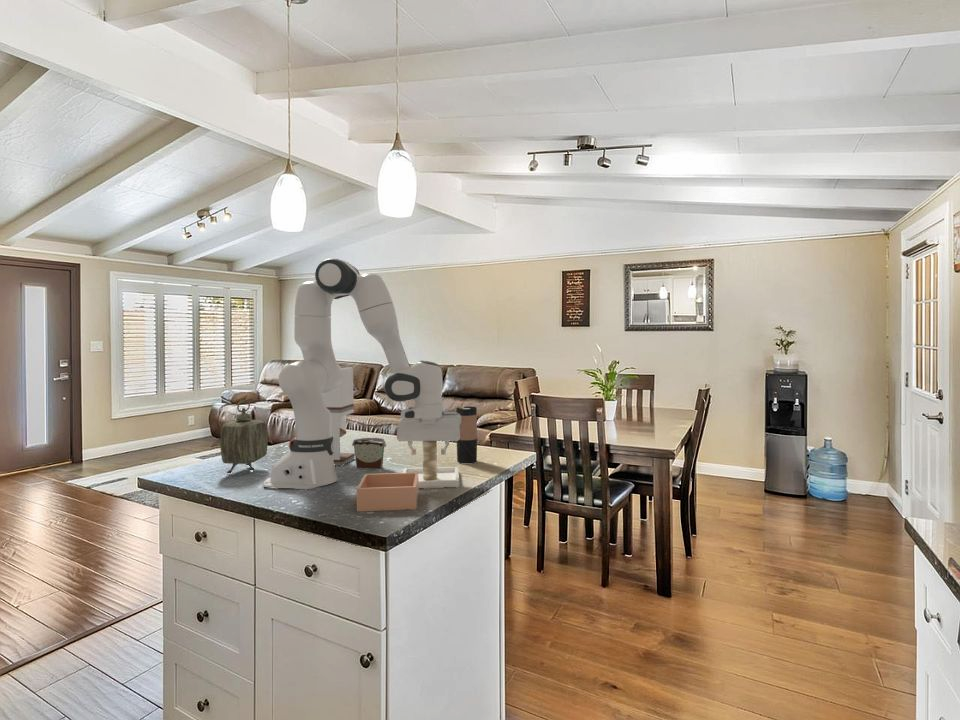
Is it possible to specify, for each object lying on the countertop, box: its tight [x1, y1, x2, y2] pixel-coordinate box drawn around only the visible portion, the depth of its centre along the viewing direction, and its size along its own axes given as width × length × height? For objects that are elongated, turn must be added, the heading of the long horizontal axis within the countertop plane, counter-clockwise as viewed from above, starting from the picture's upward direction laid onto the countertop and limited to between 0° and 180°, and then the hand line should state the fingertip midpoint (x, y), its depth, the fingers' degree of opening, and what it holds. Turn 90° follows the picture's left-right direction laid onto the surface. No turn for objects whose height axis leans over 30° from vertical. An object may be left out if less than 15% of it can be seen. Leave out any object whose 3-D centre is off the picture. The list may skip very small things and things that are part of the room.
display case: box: [322, 366, 355, 466], centre depth 199 cm, size 11×11×35 cm
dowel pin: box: [422, 441, 438, 481], centre depth 171 cm, size 4×4×12 cm
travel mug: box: [455, 405, 478, 464], centre depth 197 cm, size 8×8×20 cm
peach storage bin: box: [356, 472, 420, 512], centre depth 150 cm, size 16×16×6 cm
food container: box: [351, 437, 387, 470], centre depth 191 cm, size 12×6×10 cm, turn 77°
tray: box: [402, 466, 460, 489], centre depth 171 cm, size 18×18×2 cm
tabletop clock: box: [219, 399, 268, 474], centre depth 185 cm, size 14×9×25 cm, turn 171°
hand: (428, 454), depth 171 cm, fingers open, 8 cm apart
